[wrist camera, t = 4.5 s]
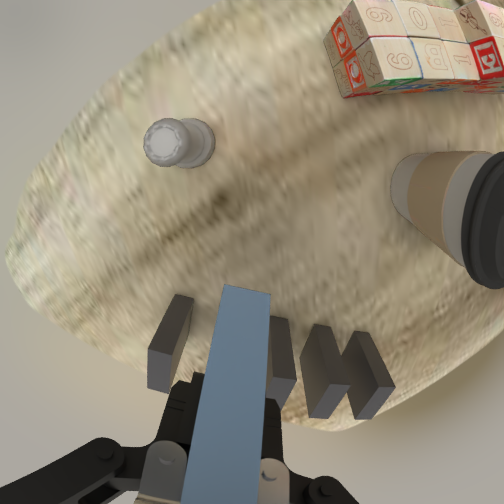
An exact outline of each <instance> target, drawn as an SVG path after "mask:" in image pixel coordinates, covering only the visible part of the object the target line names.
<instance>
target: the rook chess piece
mask: <svg viewBox="0 0 504 504" xmlns="http://www.w3.org/2000/svg"><path fill="white" fill-rule="evenodd" d="M214 144H215V138H214V135H213V132H212V130H211V129H210V127H209V126H208V125H207V124H206V123H205V122H202V121H200V120H198V119H182V120H179V121H178V120H176V119H173V118H164V119H161V120H159V121H157V122H155V123H154V124H153V125H152V126H151V127H150V128H149V129H148V130H147V132H146V134H145V137H144V146H143V148H144V151H145V154H146V156H147V157H148V158H149V160H150V161H151V162H152V163H154V164H156V165H158V166H160V167H170V166H173V165H176V166H178V167H180V168H194V167H197V166H200V165H202V164H203V163H205V162H206V161H207V160H208V159H209V158H210V156H211V154H212V152H213V150H214Z"/></svg>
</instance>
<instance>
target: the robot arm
mask: <svg viewBox="0 0 504 504" xmlns="http://www.w3.org/2000/svg"><path fill="white" fill-rule="evenodd" d="M204 377H205V374H203V373H199V372H194V373H193V377H192V381H191V383H188V382H184V381H180V380H179V381H178V382H177V383H176V384H175V385H174V386H173V387H172V388H171V391H170V394H169V397H168V401H167V403H166V407H165V410H164V413H163V416H162V419H161V423H160V426H159V429H158V433H157V435H156V438H155V439H154V441H152V442H151V443H150V444H148V445H146V446H143V447H121V446H120V444H118V443H117V442H116V441H114V440H112V439H109V438H103V437H101V438H96V439H94V440H92V441H90V442H88V443H87V444H85V445H83V446H81V447H80V448H78V449H76V450H74V451H73V452H71V453H69V454H67V455H65V456H64V457H62V458H60V459H58V460H56V461H54V462H52V463H50V464H49V465H47V466H45V467H43V468H41V469H39V470H37V471H35V472H33V473H31V474H29V475H27V476H25V477H22V478H20V479H18V480H16V481H14V482H12V483H10V484H8V485H5V486H3V487H1V488H0V504H108V503H109V502H111V501H112V500H114V499H115V498H117V497H118V496H120V495H121V494H123V493H124V492H125V491H139V492H138V496H137V498H136V499H135V501H134V504H180V503H181V497H182V491H183V486H184V480H185V474H186V469H187V463H188V458H189V453H190V447H191V442H192V437H193V432H194V427H195V421H196V416H197V411H198V406H199V401H200V396H201V391H202V386H203V381H204ZM257 504H359V503H358V502H357V501H356V500H355V499H354V498H353V496H352V495H351V494H350V493H349V492H348V491H347V490H346V489H345V488H344V487H343V486H342V484H341V483H340V482H339V481H338V480H336V479H335V478H333V477H330V476H320V477H317V478H315V479H311V478H308V477H304V476H301V475H298V474H296V473H294V472H292V471H291V470H290V469H289V468H288V467H287V466H286V465H285V463H284V460H283V446H282V429H281V411H280V407H279V405H278V404H277V402H276V400H275V399H271V398H266V390H265V406H264V421H263V435H262V449H261V462H260V474H259V486H258V498H257Z"/></svg>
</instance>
